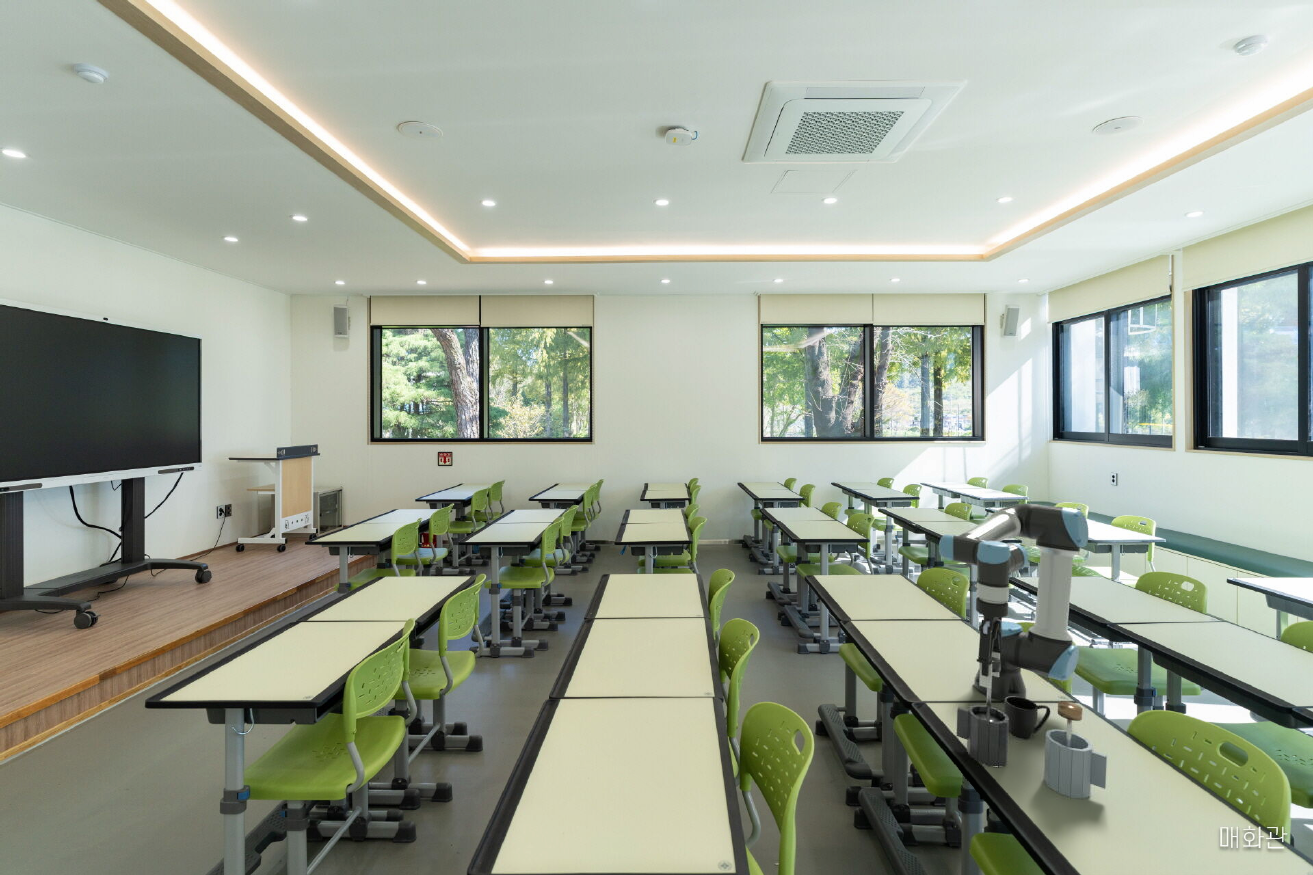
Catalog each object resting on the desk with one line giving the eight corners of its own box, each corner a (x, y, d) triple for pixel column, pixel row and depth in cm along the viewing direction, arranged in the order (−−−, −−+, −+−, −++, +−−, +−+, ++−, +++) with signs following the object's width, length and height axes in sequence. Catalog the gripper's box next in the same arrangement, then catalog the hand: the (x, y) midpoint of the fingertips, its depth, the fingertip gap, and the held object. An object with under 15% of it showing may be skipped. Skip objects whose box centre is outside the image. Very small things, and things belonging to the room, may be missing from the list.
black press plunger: (978, 713, 160) (980, 652, 160) (1004, 722, 156) (1006, 659, 155) (972, 722, 156) (974, 659, 155) (998, 731, 151) (1000, 666, 151)
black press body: (961, 738, 165) (962, 697, 164) (1010, 755, 157) (1011, 713, 156) (951, 752, 158) (953, 710, 158) (1002, 771, 150) (1004, 727, 149)
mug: (1056, 744, 162) (1057, 712, 162) (1011, 740, 164) (1012, 708, 163) (1041, 728, 170) (1042, 697, 170) (998, 725, 172) (999, 694, 172)
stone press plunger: (1054, 762, 149) (1056, 697, 148) (1084, 773, 144) (1087, 705, 144) (1050, 774, 144) (1052, 706, 143) (1081, 785, 140) (1084, 715, 139)
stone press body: (1047, 769, 151) (1049, 725, 150) (1106, 790, 143) (1108, 743, 142) (1041, 786, 144) (1043, 740, 143) (1103, 809, 136) (1105, 760, 135)
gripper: (986, 587, 165) (983, 664, 166) (966, 605, 149) (963, 689, 150) (1016, 593, 160) (1013, 672, 161) (998, 612, 144) (995, 699, 145)
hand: (989, 680), depth 155 cm, fingers open, 8 cm apart
